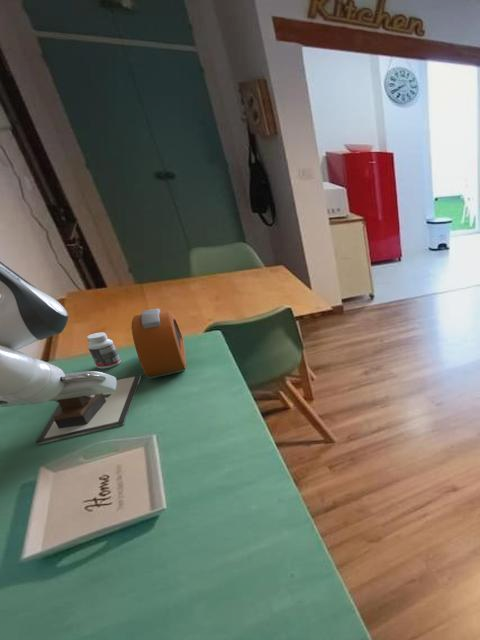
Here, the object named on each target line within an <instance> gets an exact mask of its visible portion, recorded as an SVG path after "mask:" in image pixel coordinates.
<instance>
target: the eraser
mask: <svg viewBox="0 0 480 640" xmlns="http://www.w3.org/2000/svg"><path fill="white" fill-rule="evenodd" d="M57 401H58V402H57V403H58V405H60V407H61V409H60V410H59V411H58V413H57V414H56V415H55V416H54V418H55V420H54V421H55V422H56V424H57V426H58V428H65V427H72V426H78V425H84V424H88V423H89V421H90V420H91V419H92V418H93V417H94V415H95V414H96V413H97V412H98V411H99V409H100V408H101V407H102V406H103V405H104V403H105V402H106V400H105V398H104V395H103V394H96V395H95V396H94V397H93V398H84V397H83V396H82V397H75V398H68V399H61V400H57Z"/></svg>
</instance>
